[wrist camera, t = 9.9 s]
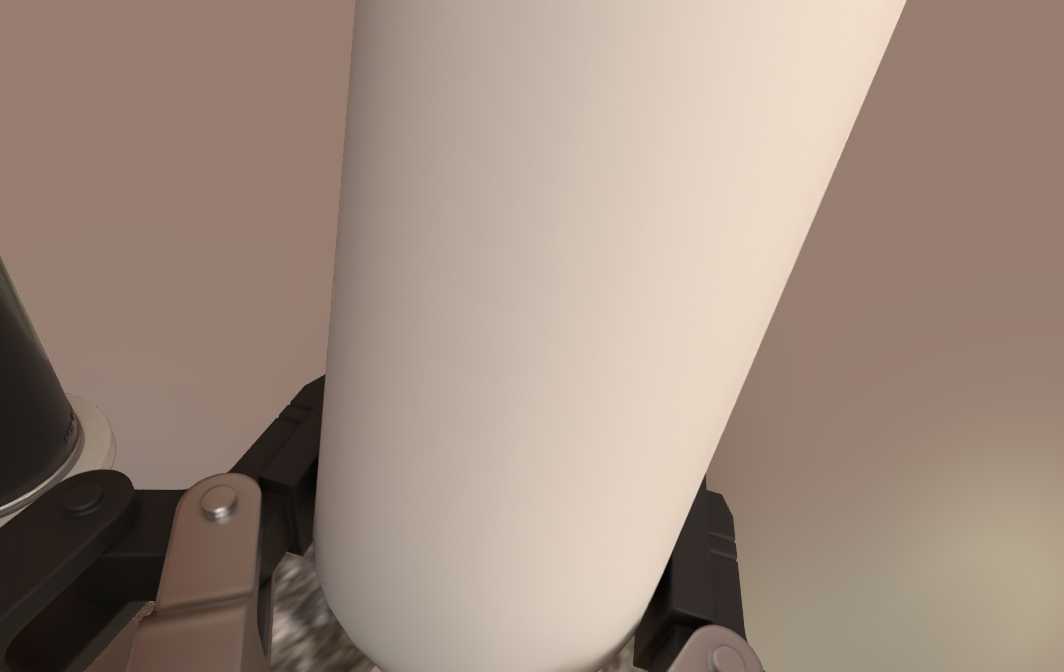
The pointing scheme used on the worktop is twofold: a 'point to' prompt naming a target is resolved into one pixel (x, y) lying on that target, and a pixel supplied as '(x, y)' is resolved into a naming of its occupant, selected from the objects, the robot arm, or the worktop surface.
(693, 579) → the robot arm
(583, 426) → the champagne flute
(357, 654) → the worktop surface
